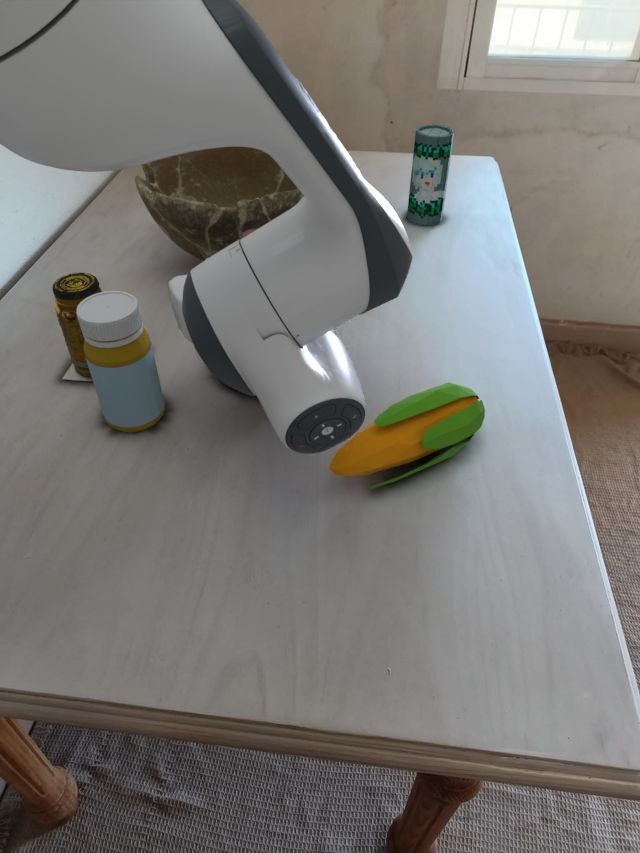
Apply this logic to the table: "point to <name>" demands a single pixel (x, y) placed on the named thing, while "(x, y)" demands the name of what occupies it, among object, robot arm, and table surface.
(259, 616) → the table surface
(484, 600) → the table surface
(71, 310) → the condiment
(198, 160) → the bowl
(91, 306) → the bottle
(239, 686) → the table surface
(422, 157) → the can
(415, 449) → the corn
